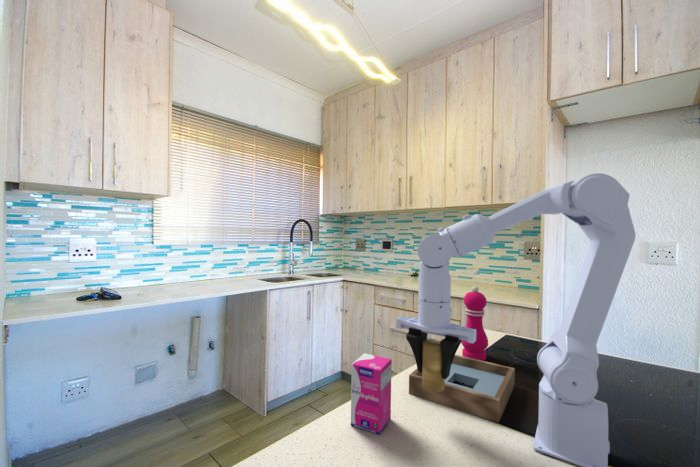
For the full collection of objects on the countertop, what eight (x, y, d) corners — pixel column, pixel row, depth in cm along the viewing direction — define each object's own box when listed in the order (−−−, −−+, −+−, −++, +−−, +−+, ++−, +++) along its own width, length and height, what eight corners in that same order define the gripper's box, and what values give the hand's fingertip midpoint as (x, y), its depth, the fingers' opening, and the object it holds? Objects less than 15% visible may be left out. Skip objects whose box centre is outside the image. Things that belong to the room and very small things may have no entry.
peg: (447, 385, 60) (448, 342, 60) (439, 394, 57) (440, 348, 57) (426, 379, 62) (427, 338, 62) (418, 387, 59) (419, 343, 59)
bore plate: (508, 385, 74) (509, 377, 74) (494, 418, 61) (494, 407, 61) (440, 368, 83) (440, 360, 83) (415, 392, 70) (415, 383, 70)
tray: (514, 385, 74) (514, 368, 74) (498, 422, 60) (499, 401, 59) (438, 365, 85) (438, 350, 85) (408, 393, 70) (409, 375, 70)
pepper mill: (491, 363, 87) (492, 289, 87) (463, 361, 88) (464, 287, 88) (484, 353, 94) (485, 284, 94) (458, 351, 95) (459, 283, 95)
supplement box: (349, 426, 58) (350, 362, 58) (363, 410, 63) (364, 352, 63) (379, 436, 55) (380, 369, 55) (391, 419, 60) (392, 357, 60)
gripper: (481, 301, 59) (479, 376, 59) (407, 291, 67) (406, 357, 67) (470, 308, 53) (469, 391, 53) (391, 297, 61) (390, 368, 61)
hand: (433, 373), depth 60 cm, fingers closed on peg, 4 cm apart
